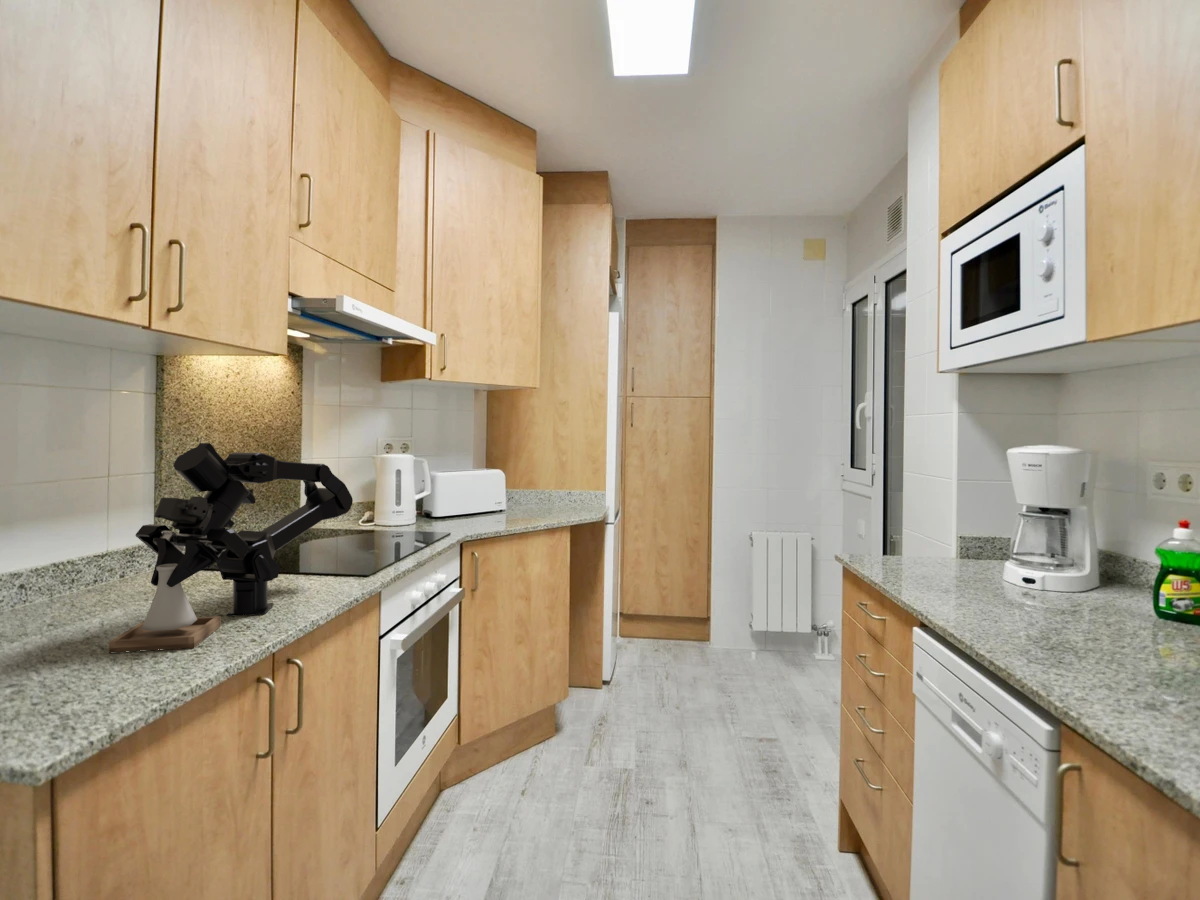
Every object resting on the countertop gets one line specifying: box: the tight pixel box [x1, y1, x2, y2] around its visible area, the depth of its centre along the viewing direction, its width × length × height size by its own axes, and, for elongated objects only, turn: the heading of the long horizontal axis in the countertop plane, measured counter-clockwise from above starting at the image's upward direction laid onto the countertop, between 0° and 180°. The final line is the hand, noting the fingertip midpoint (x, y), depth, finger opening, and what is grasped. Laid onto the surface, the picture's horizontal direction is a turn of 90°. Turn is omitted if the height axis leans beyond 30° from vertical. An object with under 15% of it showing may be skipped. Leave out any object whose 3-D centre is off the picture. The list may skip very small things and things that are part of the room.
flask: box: [142, 563, 197, 631], centre depth 103 cm, size 7×7×10 cm
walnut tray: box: [108, 615, 222, 654], centre depth 103 cm, size 12×12×2 cm
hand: (161, 585), depth 102 cm, fingers closed on flask, 3 cm apart
